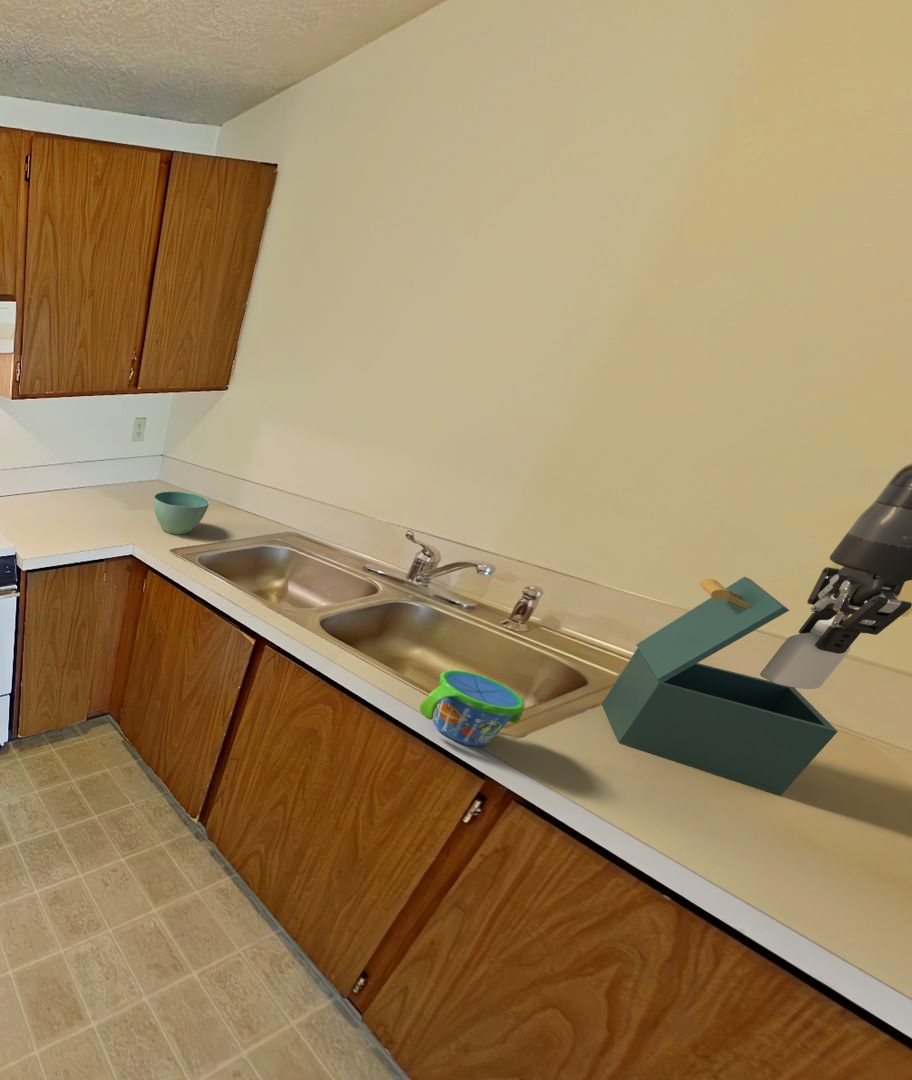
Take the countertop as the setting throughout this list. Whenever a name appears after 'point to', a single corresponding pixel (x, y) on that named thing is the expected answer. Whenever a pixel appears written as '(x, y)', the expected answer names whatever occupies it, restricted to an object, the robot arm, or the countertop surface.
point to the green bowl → (179, 511)
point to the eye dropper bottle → (803, 660)
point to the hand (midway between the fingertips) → (819, 643)
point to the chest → (718, 723)
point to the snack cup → (471, 707)
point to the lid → (709, 626)
